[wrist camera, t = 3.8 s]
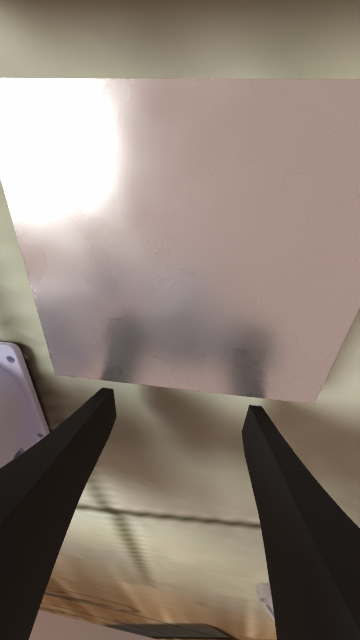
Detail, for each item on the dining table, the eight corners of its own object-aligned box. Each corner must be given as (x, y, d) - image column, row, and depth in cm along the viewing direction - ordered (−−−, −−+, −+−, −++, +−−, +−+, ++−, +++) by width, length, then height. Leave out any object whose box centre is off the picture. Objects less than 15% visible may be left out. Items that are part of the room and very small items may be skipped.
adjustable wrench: (252, 575, 25) (255, 599, 23) (306, 576, 23) (314, 602, 22) (278, 635, 33) (282, 655, 32) (319, 638, 32) (325, 659, 30)
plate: (286, 362, 11) (314, 403, 8) (88, 342, 12) (55, 374, 9) (364, 139, 7) (467, 79, 4) (51, 131, 8) (-27, 78, 5)
